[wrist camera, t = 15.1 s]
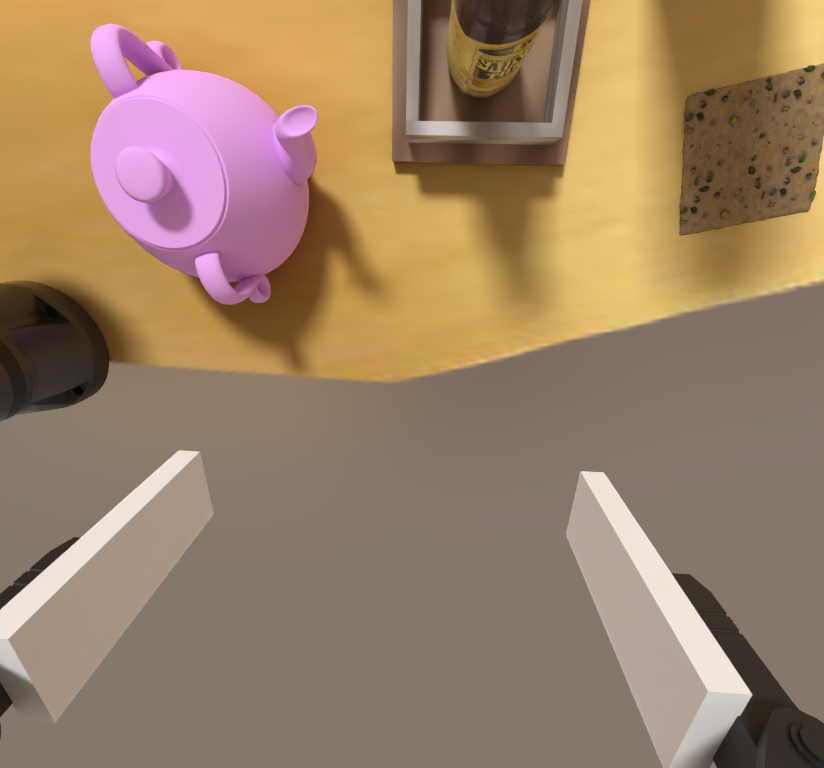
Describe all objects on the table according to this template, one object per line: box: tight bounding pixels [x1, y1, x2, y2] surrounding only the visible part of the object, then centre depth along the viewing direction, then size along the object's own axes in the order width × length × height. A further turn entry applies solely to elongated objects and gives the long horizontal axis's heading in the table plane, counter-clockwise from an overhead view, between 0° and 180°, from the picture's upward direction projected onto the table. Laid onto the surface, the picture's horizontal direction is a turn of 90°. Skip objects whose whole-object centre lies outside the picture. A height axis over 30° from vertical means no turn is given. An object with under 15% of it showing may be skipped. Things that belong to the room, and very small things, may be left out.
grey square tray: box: [392, 0, 590, 165], centre depth 32 cm, size 16×16×4 cm
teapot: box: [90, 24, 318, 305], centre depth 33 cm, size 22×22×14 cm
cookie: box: [679, 64, 824, 235], centre depth 36 cm, size 12×12×1 cm
